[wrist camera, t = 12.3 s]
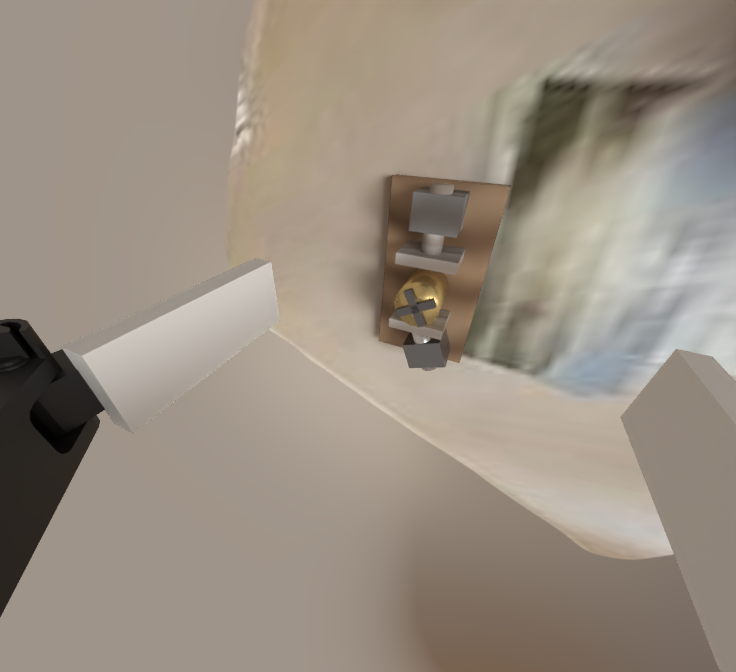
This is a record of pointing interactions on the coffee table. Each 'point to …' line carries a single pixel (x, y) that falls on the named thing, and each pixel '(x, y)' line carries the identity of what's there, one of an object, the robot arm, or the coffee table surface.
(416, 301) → the gold rounded cylinder
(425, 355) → the grey block with shaft
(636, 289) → the coffee table surface
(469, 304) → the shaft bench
